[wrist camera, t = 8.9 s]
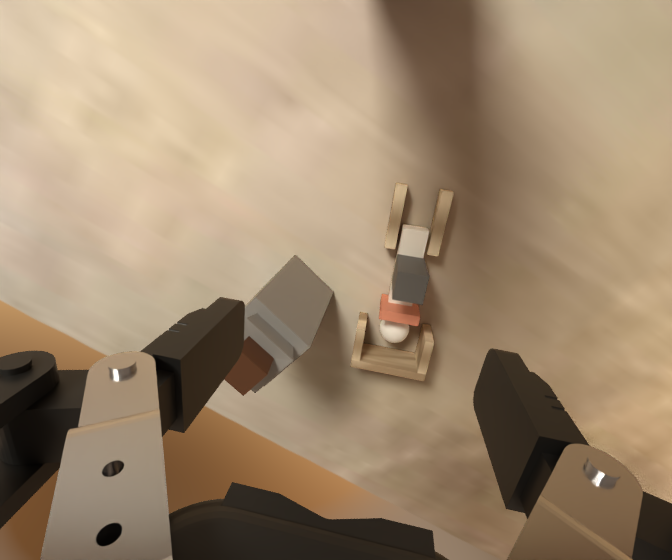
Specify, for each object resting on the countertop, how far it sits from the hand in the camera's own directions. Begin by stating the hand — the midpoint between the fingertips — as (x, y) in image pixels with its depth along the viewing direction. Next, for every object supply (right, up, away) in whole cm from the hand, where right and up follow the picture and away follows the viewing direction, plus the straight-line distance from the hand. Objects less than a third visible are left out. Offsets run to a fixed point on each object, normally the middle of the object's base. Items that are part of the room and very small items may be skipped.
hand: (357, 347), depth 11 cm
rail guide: (+9, +9, +28) cm, 30 cm away
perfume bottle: (-6, +1, +33) cm, 34 cm away
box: (+7, -5, +33) cm, 34 cm away
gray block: (+8, +4, +30) cm, 31 cm away
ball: (+7, -4, +31) cm, 32 cm away
